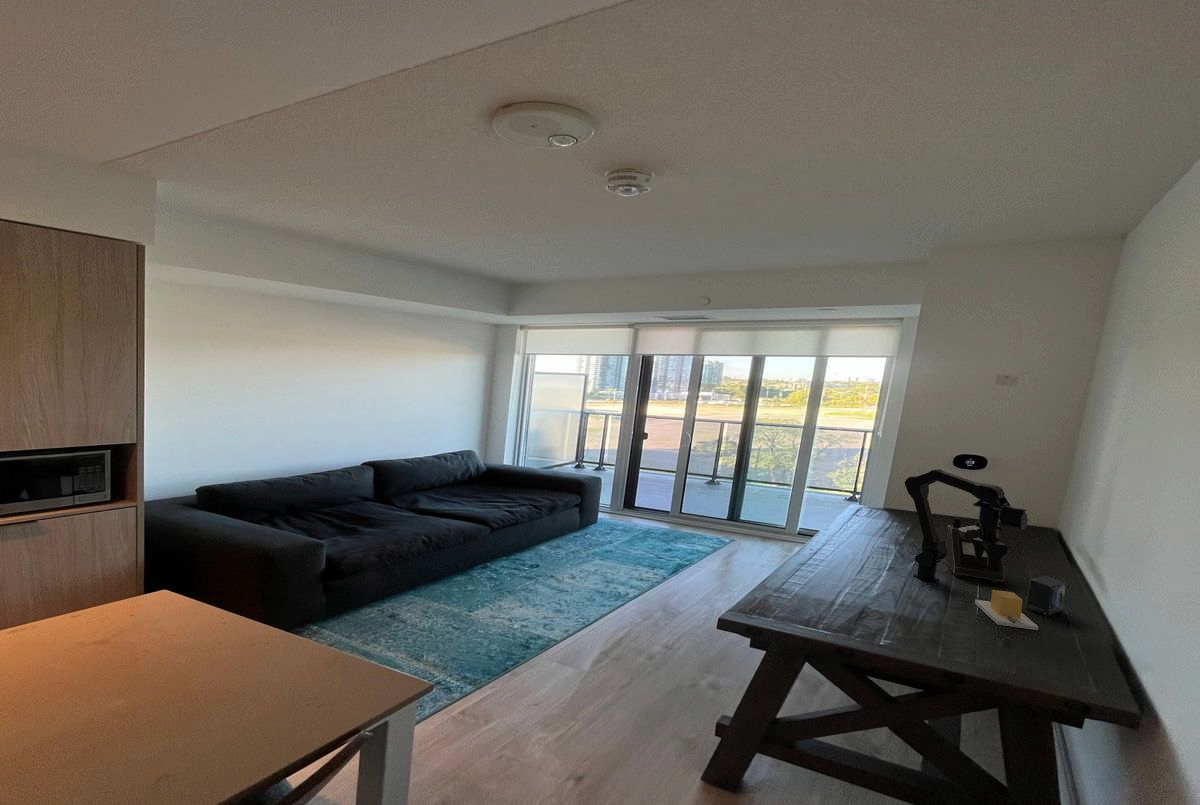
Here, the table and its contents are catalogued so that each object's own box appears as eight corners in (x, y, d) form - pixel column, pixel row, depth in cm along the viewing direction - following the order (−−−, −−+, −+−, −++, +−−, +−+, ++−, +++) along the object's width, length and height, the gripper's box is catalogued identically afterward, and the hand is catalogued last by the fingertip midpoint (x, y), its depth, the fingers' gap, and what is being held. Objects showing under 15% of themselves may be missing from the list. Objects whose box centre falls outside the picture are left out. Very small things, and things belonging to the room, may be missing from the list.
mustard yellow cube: (990, 607, 178) (992, 589, 178) (1010, 609, 177) (1012, 592, 177) (999, 615, 173) (1001, 597, 172) (1020, 618, 171) (1022, 599, 171)
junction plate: (974, 603, 184) (976, 589, 184) (1011, 608, 181) (1012, 594, 181) (998, 625, 168) (999, 610, 168) (1038, 631, 165) (1040, 616, 165)
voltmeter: (953, 577, 208) (959, 526, 206) (944, 563, 223) (949, 516, 221) (1003, 585, 202) (1009, 533, 200) (990, 570, 217) (995, 522, 215)
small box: (1048, 617, 176) (1052, 586, 175) (1025, 608, 182) (1028, 579, 181) (1063, 612, 181) (1067, 581, 180) (1040, 603, 186) (1044, 574, 186)
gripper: (952, 511, 198) (947, 552, 200) (974, 525, 180) (969, 570, 182) (986, 515, 196) (981, 556, 197) (1012, 530, 178) (1006, 575, 179)
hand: (983, 564), depth 189 cm, fingers open, 9 cm apart
